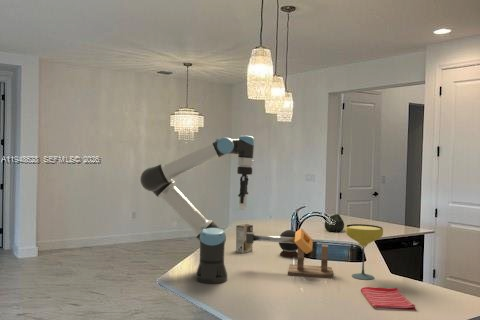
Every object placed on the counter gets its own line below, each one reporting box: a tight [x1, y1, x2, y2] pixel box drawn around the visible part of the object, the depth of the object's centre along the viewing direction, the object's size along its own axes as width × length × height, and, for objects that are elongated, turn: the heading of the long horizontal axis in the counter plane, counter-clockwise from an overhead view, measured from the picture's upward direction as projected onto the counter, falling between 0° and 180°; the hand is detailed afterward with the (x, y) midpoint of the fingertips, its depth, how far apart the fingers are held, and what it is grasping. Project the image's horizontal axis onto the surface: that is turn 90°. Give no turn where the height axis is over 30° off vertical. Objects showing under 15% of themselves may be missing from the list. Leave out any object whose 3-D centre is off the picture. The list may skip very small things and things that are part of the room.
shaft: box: [246, 231, 295, 245], centre depth 232 cm, size 4×26×5 cm, turn 80°
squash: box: [324, 213, 345, 233], centre depth 355 cm, size 14×15×15 cm
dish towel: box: [360, 286, 417, 312], centre depth 187 cm, size 17×24×3 cm
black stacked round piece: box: [278, 229, 298, 258], centre depth 267 cm, size 13×13×15 cm
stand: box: [287, 244, 334, 279], centre depth 229 cm, size 16×22×14 cm
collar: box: [295, 227, 314, 255], centre depth 227 cm, size 9×4×9 cm
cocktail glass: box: [345, 223, 384, 281], centre depth 222 cm, size 18×18×25 cm
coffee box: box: [235, 223, 254, 254], centre depth 275 cm, size 9×6×16 cm
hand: (242, 208), depth 225 cm, fingers open, 13 cm apart
